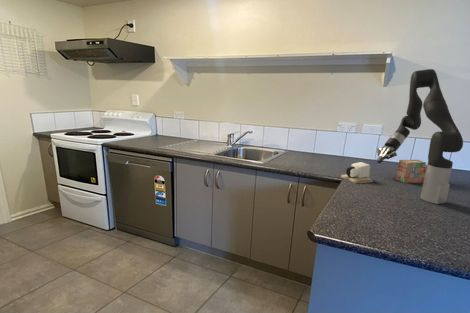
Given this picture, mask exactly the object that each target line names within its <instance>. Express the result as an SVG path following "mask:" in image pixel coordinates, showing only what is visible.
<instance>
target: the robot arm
mask: <svg viewBox="0 0 470 313" xmlns="http://www.w3.org/2000/svg"><path fill="white" fill-rule="evenodd" d="M438 78H439V77H438V75H437V72H436V70H435V69H432V68H431V69H430V68H428V69H422V70H421V69H420V70H415V71H413V72H412V73H411V77H410V82H409V96H408V98H409V100H408V105H407V109H406V115H404V116H403V117H402V118H401V120H400V124H399V126H398V128H397V129H396V130H395V131H394V133H393V134H392V135H390V136H389V138H388V139H387V140H386V142H385V143H384V145H383V146H382V147H381V148H380V147H377V148H376V151H377V152H376V153H377V154H376V155H377V156H378V158H377V159H376V163H377V164H382V162H383V161H384V160H389V159H392V158H394V157H397V155H398V153H397V152H396V151H398V150H399V149H400V147H401V146H402V144H403V143H404V142H405V140H406V139H407V137H409V135H410V134H411V132H410V130H413V131H415V130H416V131H417V130H418V129H419V128H420V127H421V125H422V116H421V113H422V108H423V111H424V114H425V116H426V118H427V119H428V120H429V121H431V122H432V123H433V124H434V125H435V126H437V127H438V128H439V129H440V130H441V131H435V132H434V133H433V134H432V135H431V138H430V143H429V149H428V155H427V160H428V161H427V163H426V165H427V169H426V174H425V178H424V182H422V183H423V184H422V187H421V188H422V189H421V193H420V197H419V198H420V199H421V200H422V201H425V202H427V203H432V204H436V205H439V204H446V203H447V199H448V194H449V190H450V187H451V184H450V183H449V182H450V181H449V180H450V177H451V172H452V170H453V169H452V168H453V164H454V163H453V161H452V160H450V159H447V158H445V157H444V156H443V155H444V153H458V152H460V151H461V150H462V148H463V146H464V139H463V137H462V134H461V132H460V130H459V129H458V127H457V125H456V123H455V122H454V120H453V117H452V115H451V113H450V110H449V106H448V104H447V101H446V99H445V97H444V95H443V92H442V90H441V86H440V82H439V79H438ZM421 88H429V92H428V94H427V95H426V97H425V99H424V101H422V99H421V97H420V96H419V94H418V91H417V90H418V89H421Z"/></svg>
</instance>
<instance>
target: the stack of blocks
mask: <svg viewBox="0 0 470 313" xmlns="http://www.w3.org/2000/svg"><path fill="white" fill-rule="evenodd" d="M426 169H427V161H426V162H425V161H423V160H420V159H399V161H398V165H397V169H396V170H397V171H396V178H395V179H396V180H397V181H399V182H401V183H424V178H425V174H426Z"/></svg>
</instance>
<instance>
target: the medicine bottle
mask: <svg viewBox="0 0 470 313" xmlns="http://www.w3.org/2000/svg"><path fill="white" fill-rule="evenodd" d="M370 171H371V165H370V164H368V163H365V162H362V161H360V162H359V161H358V162H355V163H352V164H351V166H349V167H347V168H346V169H345V173H346V175H348V176H349V177H358V178H364V177H367V178H369V177H370Z"/></svg>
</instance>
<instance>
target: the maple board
mask: <svg viewBox="0 0 470 313" xmlns="http://www.w3.org/2000/svg"><path fill="white" fill-rule="evenodd" d="M340 178H343V179H346V180H347V181H350V182H352V183H353V184H364V183H365V184H366V183H373V182H374V181H373V179H372V178H369V177H364V178H358V177H349V176H348V175H347V174H341V176H340Z"/></svg>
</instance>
